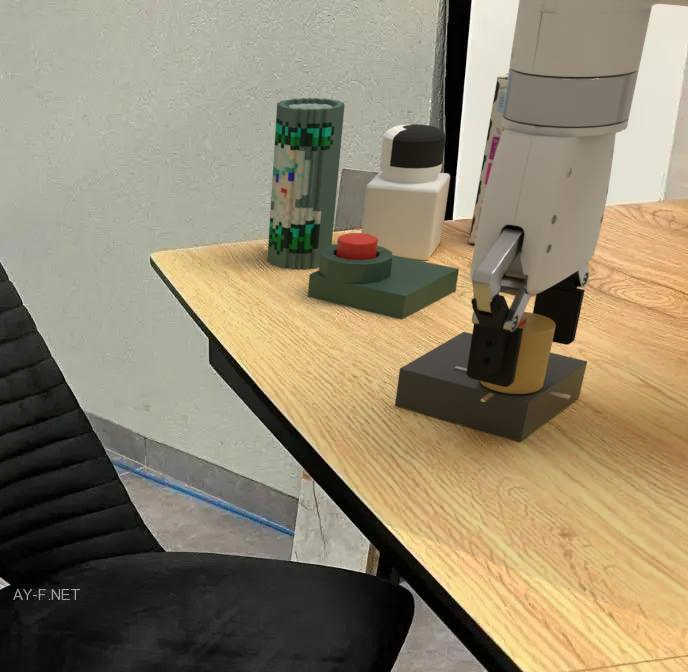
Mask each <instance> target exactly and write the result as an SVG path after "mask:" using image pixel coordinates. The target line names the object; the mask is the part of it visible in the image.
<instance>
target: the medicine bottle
mask: <svg viewBox="0 0 688 672" xmlns="http://www.w3.org/2000/svg"><path fill="white" fill-rule="evenodd" d="M446 138H447V135H446V133H445V131H444V130H442V129H440V128H438V127H436V126H434V125H429V124H418V123H409V124H399V125H395V126H393V127H390V128H388V129H387V130H386V131H385V132H384V133H383V135H382V144H381V154H380V162H379V163H380V164H379V170H380V171H379V172H378V173H377V174H376V175H375V176H374V177H373V178H372V179H371V180H370V181H369V182H368V183H366V187H365V197H364V204H363V205H364V206H363V215H362V222H361V223H362V225H361V233H363V234H369V235H373V236H375V237H377V238H378V244H377V246H381V247H384V248H386V249H388V250H389V251H391V252H392V255H394V256H399V257H404V258H409V259H414V260H419V261H423V262H428V260H430V258H431V256H433V254H434V252H435V251H436V249H437V248H438V246H439V245H440V244H441V241H442V236H443V231H444V222H445V216H446V211H447V202H448V197H449V196H448V195H449V189H450V183H451V182H450V181H451V175H450V173H447V172H446V173H445V172H442V168H443V160H444V153H445V146H446Z"/></svg>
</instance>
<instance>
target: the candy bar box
mask: <svg viewBox="0 0 688 672" xmlns="http://www.w3.org/2000/svg"><path fill="white" fill-rule="evenodd" d="M507 79H508V73H506V74H503V75H500V76H497V77H496V84H495V88H494V89H495V90H494V95H493V101H492V106H491V112H490V118H489V122H488V123H489V124H488V128H487V134H486V140H485V146H484V151H483V158H482V163H481V168H480V169H481V170H480V175H479V182H478V186H477V191H476V192H477V193H476V198H475V202H474V203H475V204H474V209H473V215H472V220H471V226H470V230H469V231H470V232H469V237H468V242H467V243H468V244H469V245H474V246H475V241H476V236H477V230H478V225H479V220H480V215H481V210H482V205H483V201H484V196H485V191H486V187H487V183H488V179H489V175H490V170H491V167H492V164H493V160H494V156H495V153H496V150H497V146H498V143H499V140H500V137H501V134H502V131H503V130H504V129H506V128H505V127H503V126H502V125H501V120H502V113H503V106H504V99H505V92H506V86H507Z"/></svg>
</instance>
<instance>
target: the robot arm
mask: <svg viewBox="0 0 688 672" xmlns="http://www.w3.org/2000/svg"><path fill="white" fill-rule="evenodd" d="M655 5H667V6H668V5H669V6H679V7H688V0H518V8H517V14H516V20H515V27H514V33H513V39H512V46H511V53H510V60H509V68H508V73H507V74H508V79H507V86H506V92H505V99H504V106H503V113H502V120H501V125H502V126H503V127H505V128H506V129H504V130H503V131H502V134H501V137H500V140H499V143H498V146H497V150H496V153H495V156H494V160H493V164H492V167H491V170H490V175H489V179H488V183H487V187H486V191H485V196H484V201H483V205H482V210H481V215H480V220H479V225H478V230H477V236H476V241H475V245H474V248H473V253H472V257H471V258H472V259H471V263H470V270H469V271H470V272H469V277H470V280H471V282H472V293H473V298H471V302H470V303H471V307H472V310H473V312H472V316H471V324H473V328H472V333H471V334H472V340H471V346H470V353H469V360H468V366H467V376H468V377H469V378H471V379H475V380H479V381H483V382H487V383H491V384H495V385H499V386H503V387H508V386H510V385H511V384H512V383H513V382H514V379H515V373H516V368H517V362H518V356H519V351H520V345H521V339H522V333H523V329H522V328H517V326H518V324H519V322H520V320H521V317H522V315H523V313H524V312H526V311H525V310H526V308H527V306H528V304H529V301H530V299H531V297H532V296H535V297H534V298H535V300H534V304H533V309H532V313H535V314H539V315H542V316H545V317H548V318H550V319H551V320H553V321H554V322H555V325H556V327H555V332H554V336H553V341H552V343H556V344H561V345H565V346H567V345H570V344H572V343H573V342H574V341H575V339H576V335H577V331H578V325H579V320H580V315H581V311H582V305H583V300H584V295H585V292H586V291H585V289H584V288H585V287H586V286H587V284H588V281H589V278H590V270H589V263H590V261H591V260H592V259H593V257H594V255H595V252H596V249H597V245H598V242H599V238H600V234H601V230H602V225H603V221H604V216H605V210H606V204H607V198H608V193H609V186H610V180H611V173H612V167H613V160H614V151H615V143H616V134H617V133H620V132H622V131H625V130H626V129H627V128H628V126H629V125H628V124H629V119H630V114H631V109H632V104H633V99H634V94H635V90H636V85H637V80H638V76H639V72H640V71H639V69H640V65H641V62H642V56H643V52H644V47H645V43H646V37H647V32H648V27H649V23H650V18H651V12H652V8H653V6H655ZM504 274H505V275H507V276H512V277H517V278H523V279H525V281H524V282H523V281H518V280H513V279H508V278H503V275H504ZM500 293H502V294H507V295H511V296H514V298H513V300H512V303H511V305H510V306H509V305H508V303H507V300H506V298H505V296H504V295H502V294H500Z"/></svg>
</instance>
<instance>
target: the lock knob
mask: <svg viewBox="0 0 688 672" xmlns="http://www.w3.org/2000/svg"><path fill="white" fill-rule="evenodd" d="M555 327H556V325H555V322H554V321H553V320H551V319H550V318H548V317H545V316H542V315H539V314H535V313H533V312H529V311H524V313H523V315H522V317H521V320H520V322H519V324H518V326H517V328H522V329H523V333H522V339H521V345H520V351H519V356H518V362H517V368H516V373H515V379H514V382H513V383H512V384H511V385H510V386H508V387H503V386H499V385H495V384H491V383H487V382H483V381H480V383H481V384H482V385H483V386H485V387H487V388H489V389H491V390H494V391H497V392H502V393H508V394H529V393H533V392H536V391H539V390H540V389H541V388H542V387H543V384H544V379H545V375H546V370H547V365H548V360H549V356H550V353H551V352H552V351H551V350H552V346H553V342H552V341H553V336H554V332H555Z"/></svg>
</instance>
